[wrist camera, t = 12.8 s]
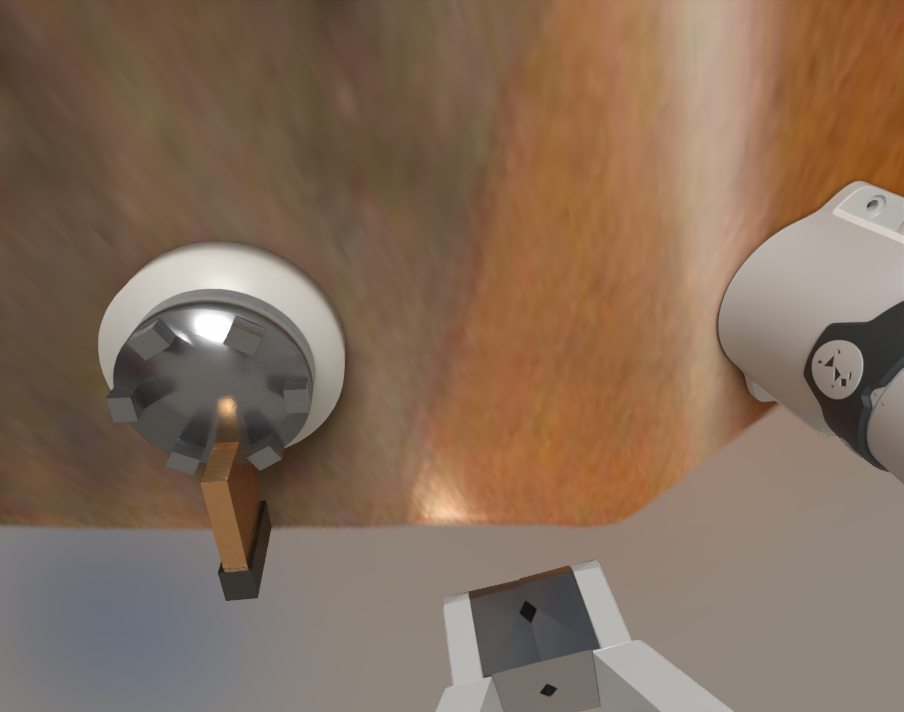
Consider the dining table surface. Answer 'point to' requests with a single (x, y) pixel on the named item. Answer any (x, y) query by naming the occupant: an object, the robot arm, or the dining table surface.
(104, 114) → the dining table surface
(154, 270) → the white round plate
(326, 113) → the dining table surface
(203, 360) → the lugged steel disc
